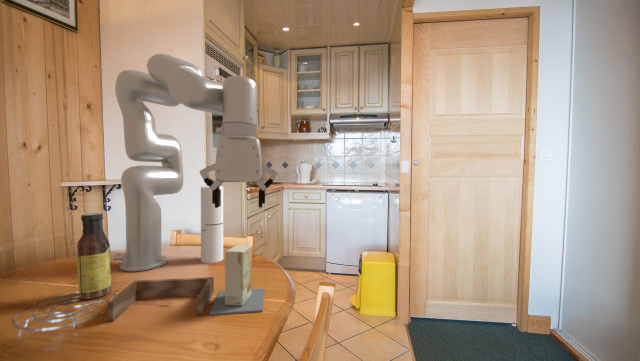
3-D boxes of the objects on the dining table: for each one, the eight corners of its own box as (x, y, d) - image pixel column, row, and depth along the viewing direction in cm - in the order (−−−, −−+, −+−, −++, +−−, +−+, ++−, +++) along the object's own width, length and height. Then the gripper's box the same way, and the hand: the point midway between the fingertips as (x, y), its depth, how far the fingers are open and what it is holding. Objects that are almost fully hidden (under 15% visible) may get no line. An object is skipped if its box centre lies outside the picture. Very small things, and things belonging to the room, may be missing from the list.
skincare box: (242, 306, 62) (243, 252, 61) (224, 305, 62) (224, 251, 61) (252, 293, 68) (252, 244, 67) (235, 292, 68) (235, 244, 68)
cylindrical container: (218, 263, 91) (218, 187, 90) (197, 262, 91) (196, 187, 90) (226, 256, 98) (226, 186, 97) (206, 256, 98) (206, 185, 97)
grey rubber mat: (209, 315, 59) (209, 313, 59) (219, 292, 69) (219, 290, 69) (262, 311, 60) (262, 309, 60) (264, 290, 71) (264, 288, 71)
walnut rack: (107, 321, 55) (107, 302, 55) (135, 297, 66) (134, 280, 66) (202, 315, 58) (202, 297, 58) (213, 292, 69) (213, 277, 69)
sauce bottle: (117, 291, 69) (116, 212, 68) (89, 302, 63) (88, 216, 62) (99, 287, 71) (98, 211, 70) (71, 298, 65) (69, 214, 64)
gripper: (195, 129, 59) (195, 209, 59) (277, 132, 61) (277, 209, 62) (204, 133, 66) (204, 205, 67) (277, 136, 69) (276, 204, 69)
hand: (239, 206), depth 64 cm, fingers open, 9 cm apart
